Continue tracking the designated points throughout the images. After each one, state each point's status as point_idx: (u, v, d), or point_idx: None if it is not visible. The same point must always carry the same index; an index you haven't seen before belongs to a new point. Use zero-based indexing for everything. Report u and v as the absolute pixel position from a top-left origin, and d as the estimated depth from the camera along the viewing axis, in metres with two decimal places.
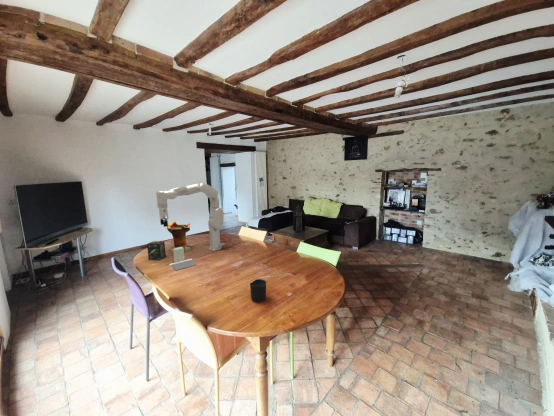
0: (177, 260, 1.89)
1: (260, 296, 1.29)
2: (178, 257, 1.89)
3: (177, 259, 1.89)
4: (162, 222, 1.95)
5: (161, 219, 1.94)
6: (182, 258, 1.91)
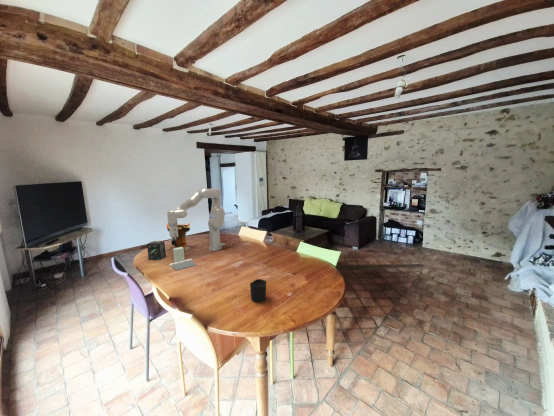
0: (177, 260, 1.89)
1: (260, 296, 1.29)
2: (178, 257, 1.89)
3: (177, 259, 1.89)
4: None
5: None
6: (182, 258, 1.91)
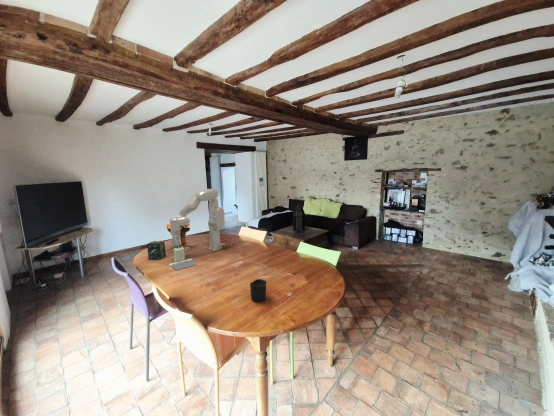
0: (177, 260, 1.88)
1: (260, 296, 1.29)
2: (178, 257, 1.88)
3: (178, 259, 1.88)
4: None
5: None
6: (182, 258, 1.91)
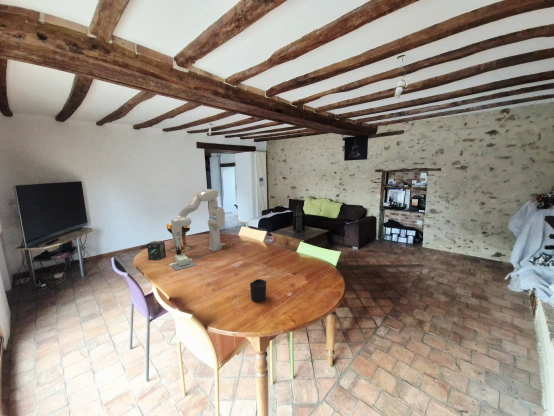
0: None
1: (260, 296, 1.29)
2: None
3: None
4: None
5: None
6: None
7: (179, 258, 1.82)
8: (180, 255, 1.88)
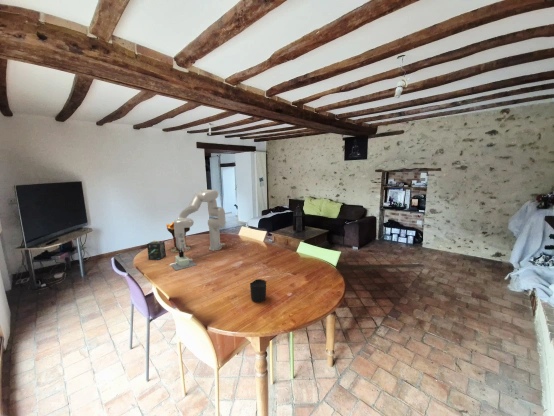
0: None
1: (260, 296, 1.29)
2: None
3: None
4: None
5: (179, 250, 1.85)
6: None
7: (180, 259, 1.81)
8: None
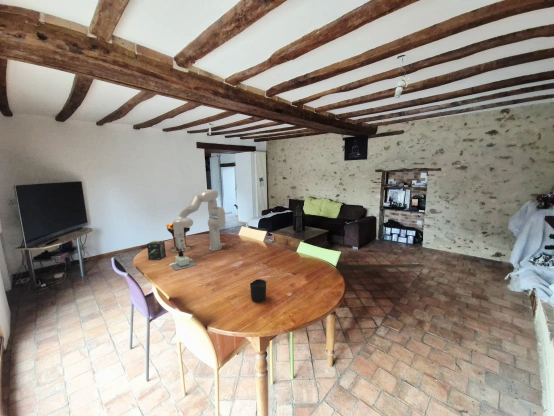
0: None
1: (260, 296, 1.29)
2: None
3: None
4: None
5: None
6: None
7: (180, 258, 1.82)
8: None
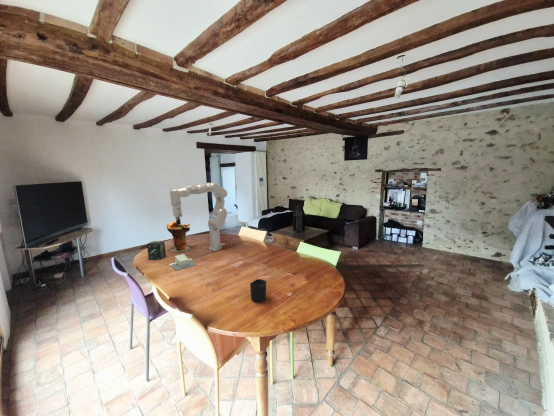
0: None
1: (260, 296, 1.29)
2: None
3: None
4: None
5: None
6: None
7: (180, 259, 1.81)
8: (180, 256, 1.87)
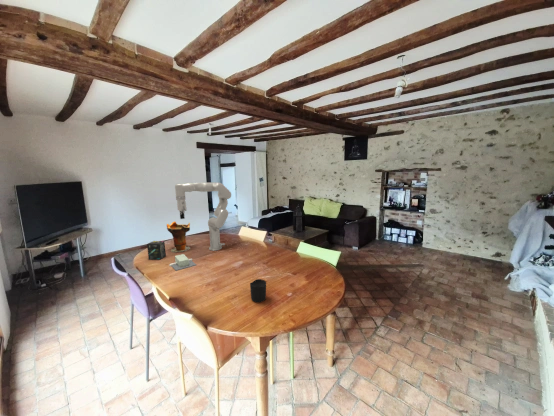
0: None
1: (260, 296, 1.29)
2: None
3: None
4: None
5: None
6: None
7: (180, 259, 1.81)
8: (180, 256, 1.87)
